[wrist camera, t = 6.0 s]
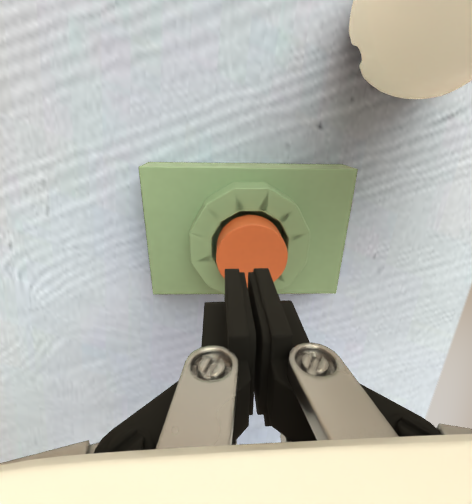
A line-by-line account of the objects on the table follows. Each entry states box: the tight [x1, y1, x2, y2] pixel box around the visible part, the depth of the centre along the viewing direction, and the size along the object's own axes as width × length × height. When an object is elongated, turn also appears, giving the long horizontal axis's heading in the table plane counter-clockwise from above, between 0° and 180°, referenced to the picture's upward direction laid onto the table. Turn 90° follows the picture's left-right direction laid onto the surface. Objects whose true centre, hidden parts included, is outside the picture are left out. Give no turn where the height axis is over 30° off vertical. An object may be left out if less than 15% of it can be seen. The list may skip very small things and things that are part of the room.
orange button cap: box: [216, 215, 288, 288], centre depth 15 cm, size 4×4×2 cm
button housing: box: [139, 162, 358, 295], centre depth 18 cm, size 12×8×4 cm, turn 89°
